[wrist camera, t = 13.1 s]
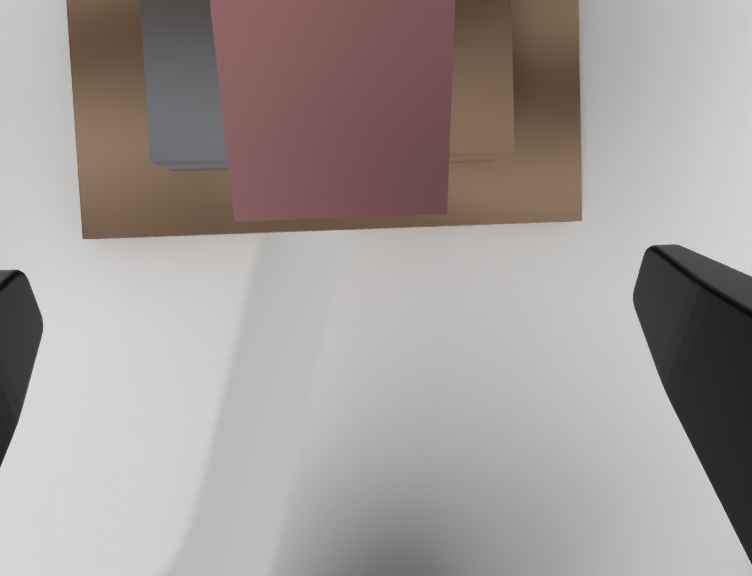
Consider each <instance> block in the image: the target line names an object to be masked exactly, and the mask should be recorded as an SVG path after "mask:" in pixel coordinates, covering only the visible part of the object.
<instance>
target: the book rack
mask: <svg viewBox="0 0 752 576" xmlns="http://www.w3.org/2000/svg"><path fill="white" fill-rule="evenodd" d="M66 1H67V16H68V31H69V45H70V60H71V75H72V89H73V104H74V118H75V133H76V148H77V162H78V177H79V191H80V206H81V221H82V235H83V239H108V238H135V237H163V236H190V235H217V234H244V233H269V232H270V233H271V232H297V231H325V230H353V229H380V228H407V227H434V226H461V225H488V224H516V223H543V222H570V221H581V220H582V197H581V138H580V79H579V19H578V0H455V23H454V49H453V75H452V101H451V128H450V154H449V180H448V206H447V214H441V215H412V216H383V217H355V218H326V219H297V220H268V221H239V222H234V214H233V205H232V196H231V187H230V178H229V169H228V160H227V151H226V142H225V133H224V124H223V116H222V107H221V98H220V89H219V80H218V71H217V62H216V53H215V44H214V35H213V26H212V17H211V8H210V0H66Z"/></svg>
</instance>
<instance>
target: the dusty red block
mask: <svg viewBox="0 0 752 576" xmlns="http://www.w3.org/2000/svg"><path fill="white" fill-rule="evenodd" d="M210 8H211V17H212V26H213V35H214V44H215V53H216V62H217V71H218V80H219V89H220V98H221V107H222V116H223V124H224V133H225V142H226V151H227V160H228V169H229V178H230V187H231V196H232V205H233V214H234V222H239V221H268V220H297V219H326V218H355V217H383V216H412V215H441V214H447V206H448V180H449V154H450V128H451V101H452V75H453V49H454V23H455V0H210Z"/></svg>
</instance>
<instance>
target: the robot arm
mask: <svg viewBox="0 0 752 576" xmlns="http://www.w3.org/2000/svg"><path fill="white" fill-rule="evenodd" d="M633 302H634V307H635V310H636V313H637V316H638V319H639V321H640V324H641V327H642V330H643V332H644V335H645V338H646V341H647V344H648V346H649V349H650V352H651V355H652V357H653V360H654V363H655V366H656V369H657V371H658V374H659V377H660V379H661V382H662V384H663V387H664V389H665V391H666V393H667V396H668V398H669V400H670V402H671V404H672V406H673V408H674V410H675V412H676V414H677V416H678V418H679V420H680V422H681V424H682V426H683V428H684V430H685V432H686V434H687V436H688V438H689V440H690V442H691V444H692V446H693V448H694V450H695V452H696V454H697V456H698V458H699V460H700V462H701V464H702V466H703V468H704V470H705V472H706V474H707V476H708V478H709V480H710V482H711V484H712V486H713V488H714V490H715V492H716V494H717V496H718V498H719V500H720V502H721V504H722V506H723V508H724V510H725V512H726V514H727V516H728V518H729V520H730V522H731V524H732V526H733V528H734V530H735V532H736V534H737V536H738V538H739V540H740V542H741V544H742V546H743V548H744V550H745V552H746V554H747V556H748V558H749V560H750V562H751V564H752V277H751V276H749V275H747V274H744V273H742V272H740V271H737V270H735V269H733V268H731V267H728V266H726V265H724V264H721V263H719V262H717V261H714V260H712V259H710V258H707V257H705V256H703V255H701V254H698V253H696V252H694V251H691V250H689V249H687V248H684V247H682V246H680V245H674V244H672V245H653V246H651V247H649V248H648V249H647V250H646V252H645V254H644V256H643V260H642V263H641V267H640V270H639V274H638V277H637V281H636V285H635V288H634V293H633ZM42 333H43V320H42V316H41V313H40V310H39V307H38V305H37V302H36V299H35V297H34V294H33V291H32V289H31V286H30V283H29V281H28V279H27V277H26V275H25V274H24V273H23V272H21V271H19V270H0V467H1V464H2V462H3V459H4V457H5V454H6V452H7V449H8V447H9V444H10V442H11V439H12V437H13V434H14V432H15V429H16V426H17V424H18V421H19V417H20V414H21V411H22V408H23V404H24V400H25V397H26V393H27V389H28V385H29V382H30V378H31V374H32V370H33V367H34V363H35V359H36V356H37V352H38V348H39V344H40V341H41V337H42Z"/></svg>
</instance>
